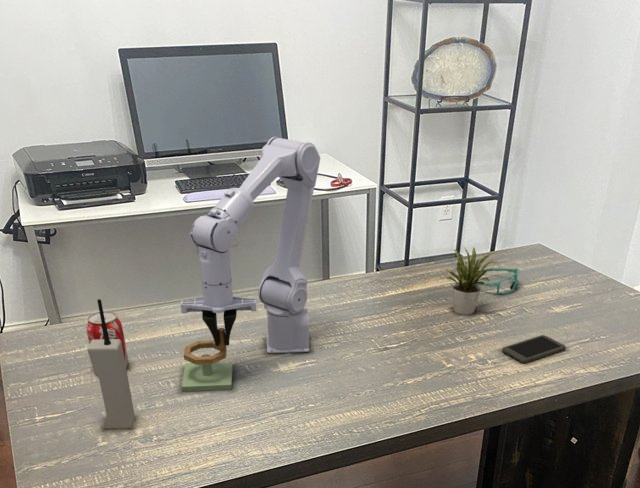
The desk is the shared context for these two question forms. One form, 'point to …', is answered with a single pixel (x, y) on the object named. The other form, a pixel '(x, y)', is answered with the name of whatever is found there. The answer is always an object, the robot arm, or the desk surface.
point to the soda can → (112, 326)
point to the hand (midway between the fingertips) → (222, 343)
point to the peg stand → (207, 376)
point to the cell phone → (533, 348)
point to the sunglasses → (504, 279)
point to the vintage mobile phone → (112, 378)
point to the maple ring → (207, 344)
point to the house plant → (468, 282)
